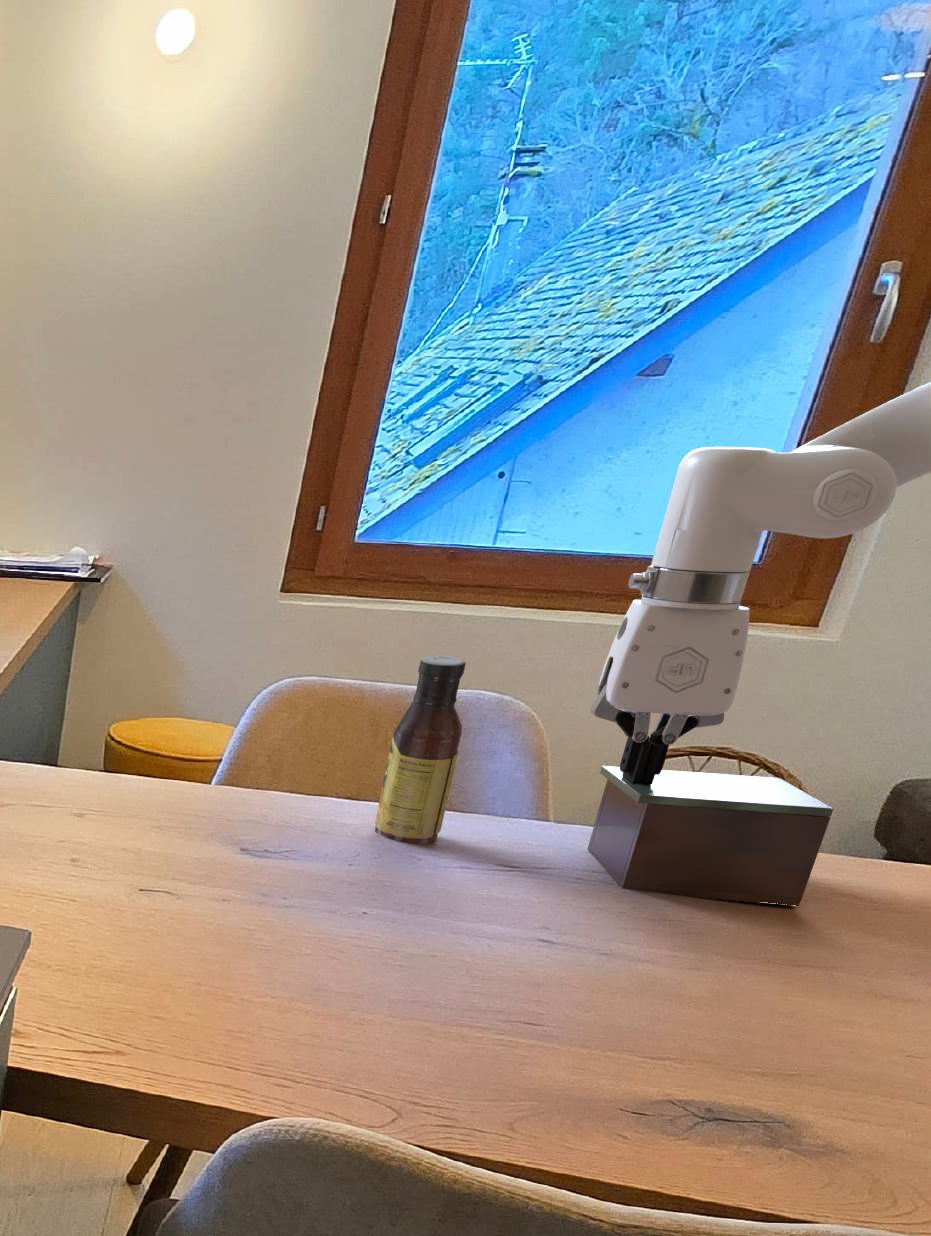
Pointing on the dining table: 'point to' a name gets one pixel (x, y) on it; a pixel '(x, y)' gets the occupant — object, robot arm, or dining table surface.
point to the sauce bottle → (423, 756)
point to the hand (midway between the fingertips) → (636, 780)
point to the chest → (705, 849)
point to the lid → (720, 792)
